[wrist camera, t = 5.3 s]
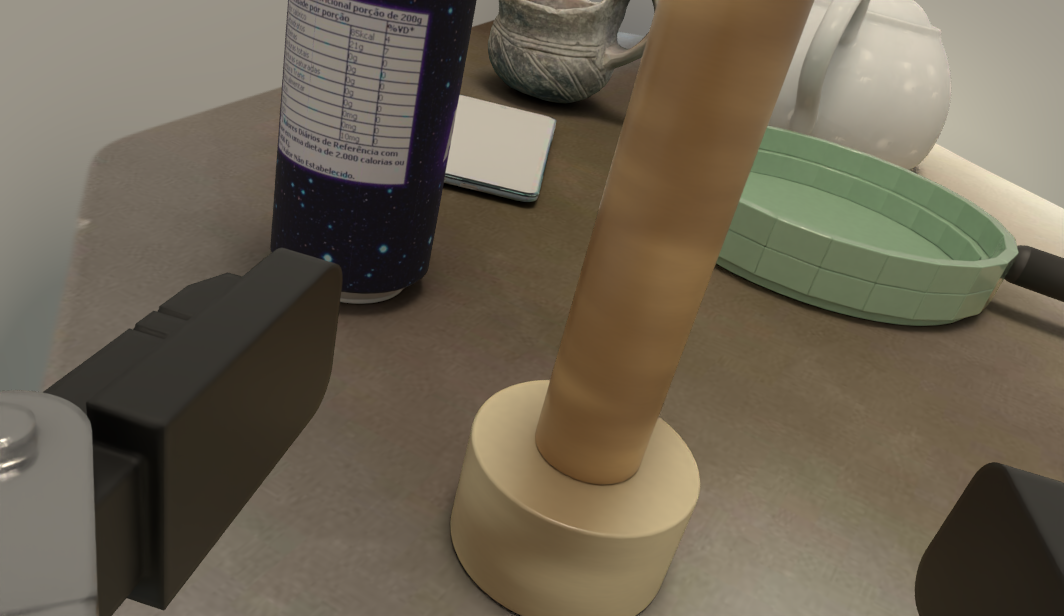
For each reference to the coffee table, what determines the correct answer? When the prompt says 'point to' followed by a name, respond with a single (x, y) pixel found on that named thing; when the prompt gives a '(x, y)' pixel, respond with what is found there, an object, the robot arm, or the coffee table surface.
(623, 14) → the mug
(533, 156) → the smartphone
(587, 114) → the coffee table surface
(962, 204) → the pan
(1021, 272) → the pan handle
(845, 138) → the teapot
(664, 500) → the brush
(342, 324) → the coffee table surface
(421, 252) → the beverage can
